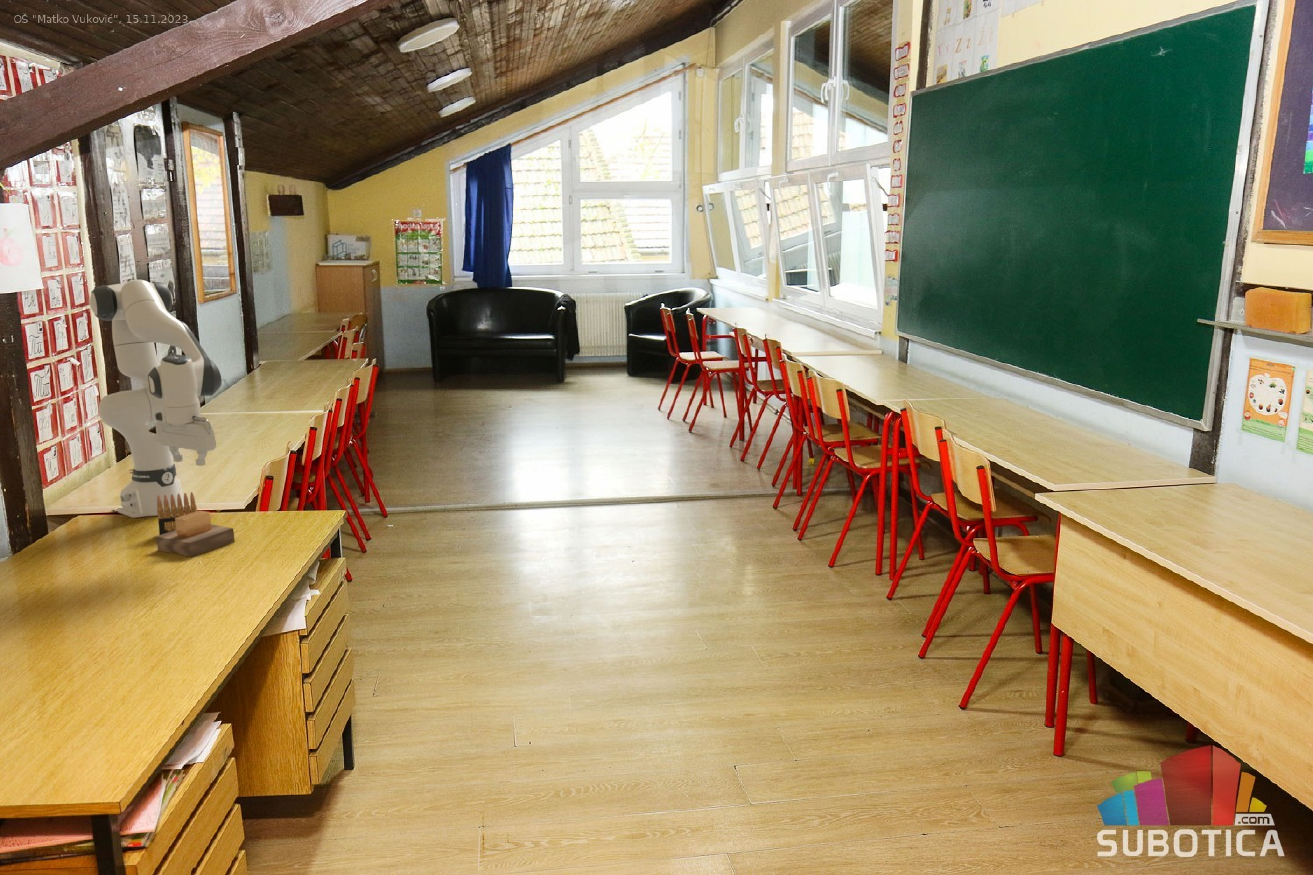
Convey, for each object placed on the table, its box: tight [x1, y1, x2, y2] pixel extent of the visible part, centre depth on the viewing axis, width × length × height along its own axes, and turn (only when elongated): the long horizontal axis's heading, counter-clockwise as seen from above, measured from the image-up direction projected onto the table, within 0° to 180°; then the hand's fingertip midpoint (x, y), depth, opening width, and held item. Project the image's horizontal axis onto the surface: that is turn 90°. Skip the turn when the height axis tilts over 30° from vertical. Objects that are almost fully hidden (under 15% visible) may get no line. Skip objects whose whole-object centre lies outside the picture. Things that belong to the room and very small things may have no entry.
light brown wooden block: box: [175, 510, 212, 537], centre depth 269 cm, size 4×8×5 cm, turn 153°
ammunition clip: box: [157, 491, 198, 535], centre depth 281 cm, size 11×2×12 cm, turn 109°
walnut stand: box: [155, 523, 236, 558], centre depth 270 cm, size 14×14×4 cm
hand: (189, 463), depth 268 cm, fingers open, 8 cm apart
